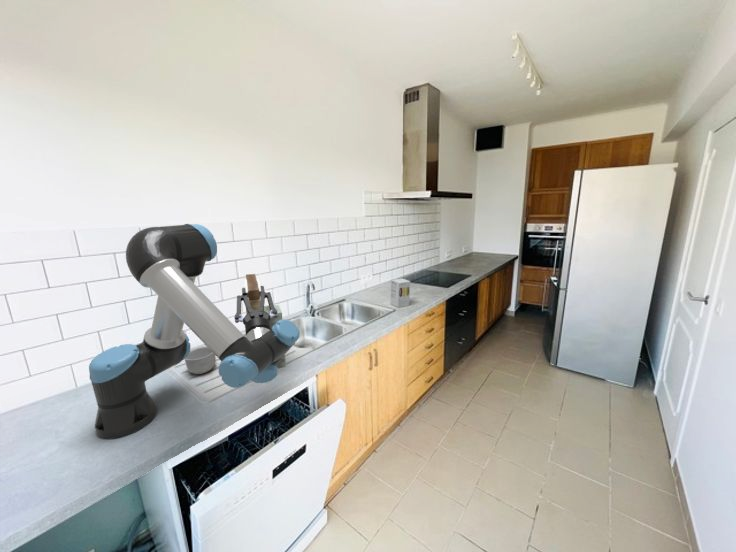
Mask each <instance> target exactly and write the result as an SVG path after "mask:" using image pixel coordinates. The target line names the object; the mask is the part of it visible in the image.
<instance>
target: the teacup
mask: <svg viewBox="0 0 736 552" xmlns="http://www.w3.org/2000/svg"><path fill="white" fill-rule="evenodd" d="M216 357H217V356H216V355H215V354H214V353H213V352H212V351H211V350H210V349H209V348H208V347H207V346H206V345H205V346H201V347H196V348H194V349H190V352H189V354H188V356H187V357H186V358H185V359H184V362H185V365H186V366H185V367H186V368H187V370H188V372H189V373H191V374H194V375H201V374H206V373H208V372H209V371H211V370H212V369H213V368H214V366H215V365H216V361H217V359H216Z"/></svg>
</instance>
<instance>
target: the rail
mask: <svg viewBox="0 0 736 552" xmlns="http://www.w3.org/2000/svg"><path fill="white" fill-rule="evenodd" d="M245 279H247V286H248V296H249V301H251V300H260V295H259V288H258V284H257V277H256V274H255V273H249V274H245Z"/></svg>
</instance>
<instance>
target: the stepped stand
mask: <svg viewBox="0 0 736 552" xmlns="http://www.w3.org/2000/svg"><path fill="white" fill-rule="evenodd" d="M260 299H261V296H260ZM248 300H249V298H248ZM249 303H250V306H251V307H252V310H257V309H259V307H260V300H251V301H249ZM274 308H275V309H276V310H277V317H272V318H271V320H270V327H271V329H272V326H273V325H275V324H276V323H277V322H278V321H279V320H283V313H282V309H281V306H280V305H279V304H274ZM264 311H265V312H267V313H268V314H270V308H269V305H264ZM245 312H246V314H247V313H248V312H247V309H246V308H245ZM246 314H245V315H246ZM286 366H287V364H286V354H285V355H284V356H283V357H282V358H281V360H280V361H279V362H278V363H277V367H278V369H280V368H285V367H286Z"/></svg>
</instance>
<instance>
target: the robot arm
mask: <svg viewBox="0 0 736 552" xmlns="http://www.w3.org/2000/svg"><path fill="white" fill-rule="evenodd" d="M217 253H218V245H217V240H216V239H215V237H214V235H213V233H212V232H211V231H210V229H208V228H207V227H205V226H204V225H202V224H198V223H184V224H179V225H178V224H176V225H166V226H150V227H146V228H143V229H141V230H139V231H138V232H136V233H135V234H134V235H133V236H132V237H131V239H129V240H128V242H127V246H126V250H125V260H126V264H127V267H128V269H129V271H130V274H131V275H132V276H133V278H134V279H135V280H136V281H137V282H138V283H139V284H140V285H141V286H142V287H143V288H149V289H151V290H152V291H153V292H154V293H155V294H156V295H157V300H156V305H155V308H154V315H153V319H152V326H151V327H150V328H148V329H147V330H146V331H145V332H144V335H143V339H142V342H141V343H138V344H133V343H132V344H131V343H130V344H129V343H126V344H125V343H124V344H121V345H119V346H113V347H110V348H108V349H105V350H104V351H101V352H100V353H99V354H97V355H96V356H94V358H93V359H91V361H90V362H89V365H88V370H89V371H88V372H89V380H90V382H91V385H92V390H93V393H94V397H95V400H96V404H97V411H96V417H95V422H94V431H95V434H96V436H97V437H99V438H101V439H107V440H109V439H110V440H111V439H117V438H118V439H119V438H122V437H125V436H128V435H130V434H133V433H135V432H137V431H139V430H141V429H143V428H144V427H146V426H147V425H148V424H149V423H151V422H152V421H153V420H154V419H155V418H156V416H157V414H158V408H157V403H156V401H155V400H154V399H153V397H152V396H151V395H150V394H149V392H148V391H147V389H146V388H147V387H146V382H147V381H148V380H150V379H152V378H154V377H155V376H157V375H159V374H161V373H163V372H166V371H168V369H171V368H173V367H174V366H177V365H178V364H180V363H181V362H183V361H185V358H186V357H187V356H188V354H189V352H190V351H191V348H192V347H191V343H190V342H189V341H190V338H189V337H188V335H187V334H186V332H185V331H184V325H186V326H187V327H188V328H189V329H190V331H192V332H193V333H194V335H195V336H196V337H197V338H198V339H199V340H200V341H201V342H202V343H203V344H204V345H205V347H206V346H207V347H208V348H209V349H210V350H211V351H212V352H213V353H214V354H215V357H217V358H218V360H220V363H219V365H218V374H219V376H221V381H223V383H224V384H225V385H227V386H228V387H230V388H234V389H236V388H237V389H238V388H243V387H244V386H245V385H247V384H248V383H250V382H251V381H252V382H254V383H256V384H265V383H268V382H271V381H273V380H274V379H276V377H277V376H278V373H279V371H278V369H279V368H278V367H277V363H278V362H279V361H280V360H281V358H282V357H283V356H284V355H285V356H286V354H287V353H288V352H289V350H290V349H292V347H293V346H295V345H296V343H297V341H298V340H299V338H300V336H301V335H300V329H299V327H298V326H297V325H296V324H295V323H294V322H293V321H291V320H288V319H286V318H285V319H284V318H282V320H279V321H278V322H277V323H276V324H275V325H273V326H272V329H271V327H270V320H271V318H272V317H277V310H276V309H275V308H274V305H275V304H274V301H273V297H272V294H271V292H270V291H267V292H266V291H265V286H264V285H261V282H260V277H259V278H258V277H256V280H257V284H258V288H259V295H260V296H261V299H260V307H259V309H257V310H252V307H251V306H250V303H249V300H248V298H249V296H248V286H247V279H246V278H245V279H244V287H242V288H241V295H237V296H236V313H235V315H234V322H235V323H236V324H237V323H239V322H240V323H242V324H243V326H244V329H245V330H244V331H245V335H244V334H243V333H242V332H241V331H240V329H238V328H237V327H236V326H235V324H233V322H232V321H231V320H230V319H229V318H228V317H227V316H226V315H225V314H224V313H223V312H222V311H221V310H220V309H219V308H218V306H216V305H215V304H214V302H212V300H210V298H209V297H207V296H206V294H204V292H202V290H201V289H200V288H199V287H198V286H197V285H196V284H195V282H196V278H197V277H199V276H201V275H202V274H203V273H204V268H205V265H206V262H211V261H212V260H214V259H215V257H216V256H217ZM266 299H267V300H266ZM265 300H266V301H267V303H268V306H269V308H270V314H268V313H267V312H265V311H264V306H265V302H266V301H265ZM242 301H243V303H244V306H245V310H246V309H247V312H248V313H247V314H245V315H244V316H243V315H242Z"/></svg>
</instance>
